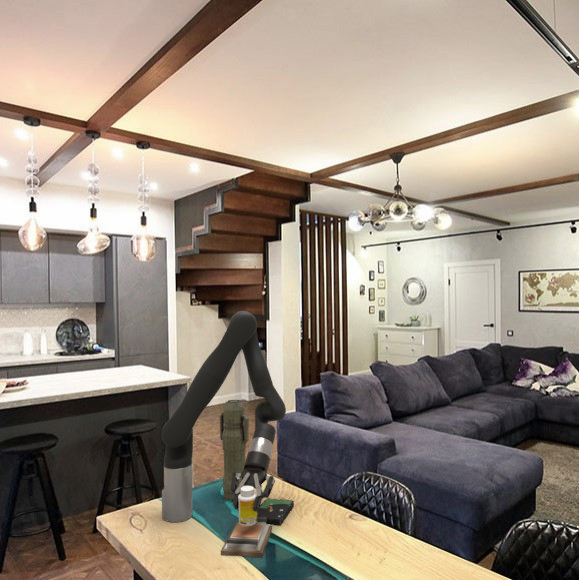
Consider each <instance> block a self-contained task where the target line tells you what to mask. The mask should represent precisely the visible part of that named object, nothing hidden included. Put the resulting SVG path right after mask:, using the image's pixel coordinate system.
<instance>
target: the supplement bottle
mask: <svg viewBox="0 0 579 580" xmlns="http://www.w3.org/2000/svg"><path fill="white" fill-rule="evenodd" d="M256 496H257V493H256V492H255V488H254V487H252V486H244V487H242V488H241V494H240V495H239V496H238V509H237V510H238V517H239V523H240V524H241V525H242V526H252V525H254V524H256V522H257V512H255V511H254V510H253V506H254V502H255V498H256Z"/></svg>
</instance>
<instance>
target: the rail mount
mask: <svg viewBox="0 0 579 580" xmlns="http://www.w3.org/2000/svg"><path fill="white" fill-rule="evenodd" d="M237 519H238V522H237V523H234V525H233V527H232V529H231V531H230V533H229V534H228V536H227V538H226V539H225V542H224V544H223V546H222V547H221V550H220V556H234V557H235V556H236V557H254V558H263V556H264V554H265V551H266V548H267V546H268V543H269V540H270V536H271V535H272V531H273V525H268V524H266V522H267V517H257V522H256V524H254V525H252V526H242V525H241V524H240V523H239V516H238V518H237Z"/></svg>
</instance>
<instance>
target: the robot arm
mask: <svg viewBox="0 0 579 580" xmlns="http://www.w3.org/2000/svg"><path fill="white" fill-rule="evenodd" d="M257 328H258V321H257V319H256V317H255V315H253V313H251V312H250V311H248V310H239V311H237V312H236V313H234V314H233V315H232V316H231V318H230V321H229V324H228V325H227V328H226V331H225V332H224V334H223V336H222V339H221V340H220V342H219V343H218V344H217V346H216V348H214V349H213V350H212V351H211V353H210V354H209V356H208V357H207V358H206V359H205V360H204V362H203V363H202V365H200V366H201V367H200V368H199V369H198V371H197V372H196V374H195V376H194V377H193V379H192V381H191V383H190V385H189V387H188V389H187V391H186V393H185V395H184V397H183V399H182V401H181V403H180V405H179V406H178V408H177V409H176V410H175V412H174V413H173V415H171V417H170V418H169V419H168V420H167V421H166V422H165V424H164V425H163V427H162V430H161V440H162V442H163V443H164V445H165V453H164V457H163V484H164V485H163V486H164V487H163V489H162V491H161V519H162V520H164V521H167V522H169V523H180V522H184V521H187V520H189V519H190V518H191V517H193V510H194V509H193V460H192V459H193V455H194V454H193V452H194V427H195V425H196V422H197V421H198V418H199V417H200V415H201V414H202V412H203V411H204V410H205V409H206V408H207V407H208V405H209V404H210V403H211V402H212V401H213V399H214V397H215V396H216V394H217V393H218V392H219V391H220V389H221V387H222V386H223V384H224V382H225V381H226V379H227V377H228V375H229V374H230V372H231V370H232V367H233V365H234V363H235V361H236V359H237V358H238V355H239V354H240V352H241V351H242V353H243V356H244V360H245V365H246V369H247V374H248V378H249V380H250V383H251V384H250V385H251V386H252V391H253V393H254V395H255V396H256V397H259V398H264V399H265V400H264V401H261V402H259V403H258V404H257V405H256V407H255V409H254V410H255V411H254V432H253V436H252V439H251V442H250V444H249V447H248V451H247V454H246V457H245V465H244V469H243V471H242V472H241V473H236V472H233V473H232V481H231V491H232V493H233V494H235V497H234V501H232V505H233V508H234V509H235V510H238V496H239V495H240V494H241V488H242V487H244V486H252V487H254V490H255V491H256V495H257V496H256V498H255V502H254V506H253V510H254V511H255V512H257V511H258V510H259V509H260V505H261V504H262V500H263V499H267V498H270V494H271V493H272V489H274V488H273V487H274V484H275V483H276V479H275V477H274V476H273V475H268V470H269V468H270V467H269V466H270V462H271V459H272V454H273V446H274V442H275V438H276V433H277V431H276V427H275V426H273V425H272V424H270V423H269V422H277V421H281V420H283V419H284V418H285V416H286V412H287V411H286V409H287V408H286V405H285V402H284V400H283V399H282V397H281V396H280V394H279V392H278V390H277V389H276V388H275V386H274V384H273V380H272V377H271V374H270V369H269V368H268V365H267V363H266V360H265V358H264V355H263V352H262V349H261V347H260V345H261V344H260V341H259V338H258V332H257ZM241 477H242V481H241V483H240V484H239V487H238V488H237V485H238V481H239V480H240V478H241ZM265 482H266V484H265V487H264V489H263V487H262V485H264V483H265ZM244 484H245V485H244Z"/></svg>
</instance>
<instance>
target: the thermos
mask: <svg viewBox="0 0 579 580" xmlns="http://www.w3.org/2000/svg"><path fill="white" fill-rule="evenodd" d="M249 423H250V421H249V416H248V415H247V414H245V406H244V404H243V402H242V400H239V399H229V400H227V401H225V403H224V406H223V412H221V413H220V415H219V433H220V434H219V436H220V441H221V442H222V450H223V476H222V491H223V495H222V497H223V499H224V498H225V499H224V500H227V501H229V500H231V501H230V502H233V501H232V500H234V497H235V494H233V493H232V491H231V481H232V473H233V472H236V473H241V472H242V471H243V469H244V465H245V461H246V449H247V443H248V442H249V441H250V439H249ZM241 481H242V477H241V478H240V480H239V481H238V485H237V488H238V487H239V484H240V483H241ZM244 485H245V484H244Z"/></svg>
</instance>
